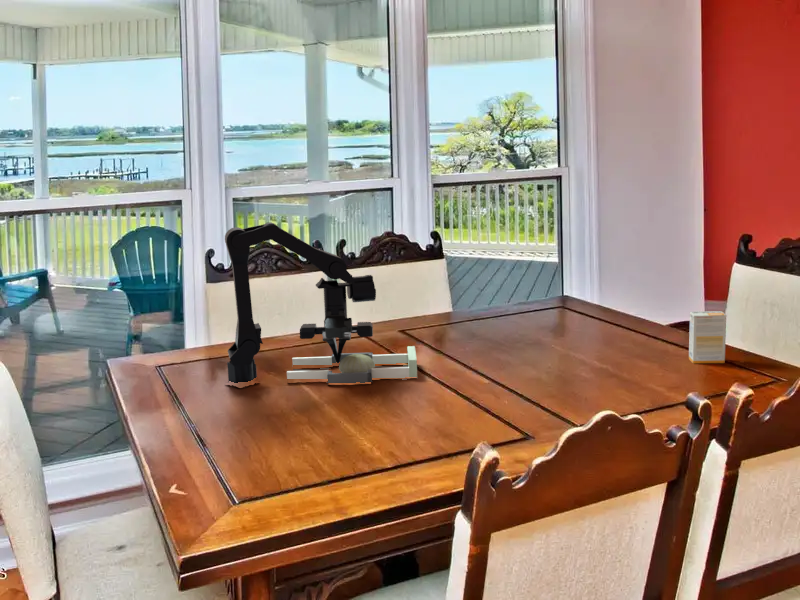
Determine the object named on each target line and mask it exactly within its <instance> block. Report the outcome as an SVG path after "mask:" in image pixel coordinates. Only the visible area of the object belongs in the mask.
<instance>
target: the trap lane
mask: <svg viewBox="0 0 800 600" xmlns="http://www.w3.org/2000/svg"><path fill="white" fill-rule="evenodd" d="M352 354H363V355H366V356H369V357H370V358H371V359H372V360H373V361H374V363H375V364H396V363H408V353H390V354H389V353H388V354H386V353H385V354H373V352H372V351H371V352H370V351H369V352H348V353H347V352H345V353H343V352H342V354H341V358H340V361H339V362H341V360H342V359H343V358H344V357H346V356H349V355H352ZM291 359H292V366H293V365H332V363H336V360H335V357H334V354H333V353H332V354H331V356H329V355H328V356H306V357H292V358H291ZM405 377H409V367H408V366H388V367H375V368H372V369H368V371H367V372H354V373H342V372H333V370H329V369H305V370H287V371H286V380H287V379H328V382H327V384H328V383H356V382H360V383H365V382H372V383H373V381H372V378H405Z"/></svg>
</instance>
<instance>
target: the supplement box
mask: <svg viewBox="0 0 800 600" xmlns="http://www.w3.org/2000/svg"><path fill="white" fill-rule="evenodd" d="M726 329H727V314H726V313H725V312H723V311H719V310H718V311H717V310H716V311H715V310H714V311H713V310H712V311H711V310H710V311H707V310H706V311H690V312H689V333H688V334H689V335H688V336H689V341H688V342H689V343H688V360H689V361H690V362H691V363H692V364H725V361H726V336H727V335H726V334H727V330H726Z"/></svg>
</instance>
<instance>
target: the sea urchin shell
mask: <svg viewBox="0 0 800 600" xmlns="http://www.w3.org/2000/svg"><path fill="white" fill-rule="evenodd" d="M372 368H376V366H375V363H374V361H373V360H372V359H371V358H370V357H369V356H366V355H363V354H352V355H349V356H346V357H344V358H343V359H342V360H341V362H340V364H339V367H338V370H339V372H340V373H354V372H367V371H368V369H372Z"/></svg>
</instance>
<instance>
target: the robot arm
mask: <svg viewBox="0 0 800 600" xmlns="http://www.w3.org/2000/svg"><path fill="white" fill-rule="evenodd" d="M267 241H272V242H274V243H276V244H278V245H280V246H282V247H284V248H285V249H287V250H288V251H291V252H293V253H294V254H296V255H298V256H299V257H301V258H303V259H305V260H306V261H308V262H310V263H311V264H312V265H313V266H314V267H316V268H317V269H318V270H319V271H320V272H322V274H324V275H326V276H327V277H328V278H329V279H330V280H329V279H328V280H325V279H324V277H320V279H319V281H318V282H317V283H316V284H315V287H316V288H317V289H319V290H320V289H321V290H322V289H323V302H324V319H323V326H317V323H303V324H302V325H300V329H299V339H300V340H305V339H306V340H308V339H313V338H315V336H316V335H321V336H322V341H323V342H326V343H327V344H328V345H329V348H330V349H331V351H332V354H334V357H335V360H336V362H337V363H339V361H340V358H341V354H342V353H343V349H344V347H345V345H346V342H347V341H351V338H352V334H357V335H358V337H359V338H370V337H371V338H372V337H373V336H374V335H373V333H374V332H373V331H374V329H373V327H374V326H373V323H372V322H371V321H358V322H357V323H356V324H357V325H353V319H352V317H348V310H347V306H348V305H347V299H349V300H351V302H352V303H363V302H374V301H376V297H377V289H376V288H375V287H376V286H375V282H374V276H373V275H372V274H365V275H361V276H353V275H352V274H351V273H350V272H349V271H348V270H347V269H348V267H347V262H346V261H345V260H344V259H342V257H340V256H338V255H336V254H333V253H331V252H328V251H326V250H323V249H320V248H318V247H317V248H316V247H314V246H312V245H311V244H308V243H307V242H306V241H303V240H302V239H301V238H298V237H297V236H295V235H293V234H291V233H289V232H287V230H284V229H282V227H281V228H280V227H279V226H278V225H277V224H276V223H274V222H272V221H271V222H266V223H263V224H260V225H259V224H258V225H254V226H249V227H246V228H241V227H239V226H237V227H236V226H235V227H231V228H230V229H228V231H226V233H225V235H224V242H225V247H226V249H227V252H228V256H229V259H230V262H231V265H232V266H231V267H232V275H233V276H232V278H233V285H234V287H233V288H234V295H235V296H234V297H235V306H236V314H237V317H236V318H237V321H236V327H235V338H234V339H235V340H234V343H232V345H231V346H230V347H229V348H228V349H227V353H228V357H229V361H227V363H226V364H227V366H226V367H227V376H228V377H227V379H228V380H227V381H228V382H229V381H231V382H234V383H238V382H248V381H251V380H253V379H254V378H256V377H257V378H258V374H257V373H258V371H257V364H256V361H255V356H256V355H258V354H259V352H260V350H261V345H262V344H264V341H263V340H262V327H261V325H260V323H259V322H257V323H255V322H254V321H255V320H254V317H253V316H254V315H253V309H252V308H253V306H252V297H251V287H250V286H251V285H250V277H249V276H250V275H249V258H250V251H251V250H250V249H251V247H252V246H256V245H259V244H262V243H264V242H267ZM338 280H341V281H343V282H338ZM347 297H348V298H347ZM337 338H338V346H337V340H336V339H337Z"/></svg>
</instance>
